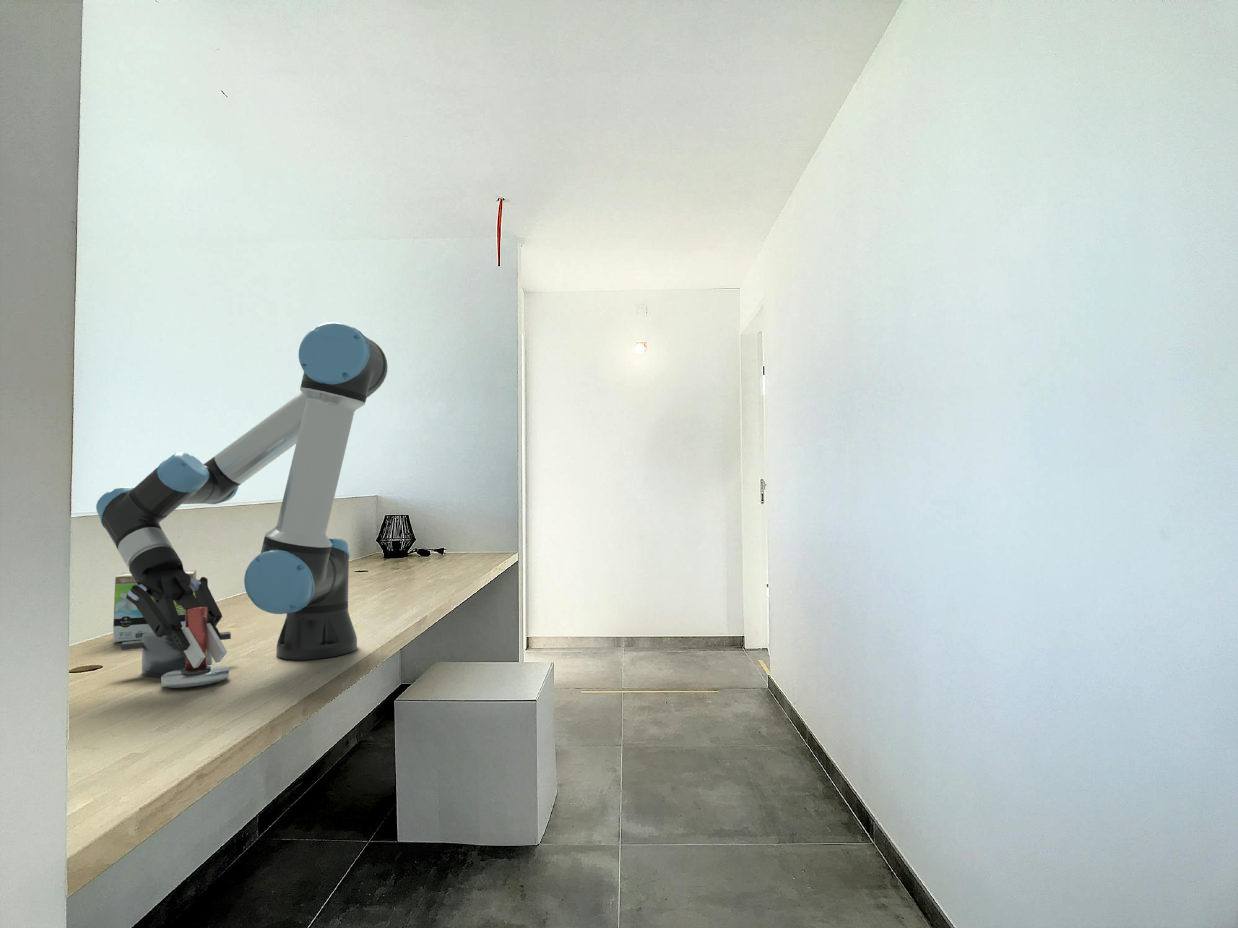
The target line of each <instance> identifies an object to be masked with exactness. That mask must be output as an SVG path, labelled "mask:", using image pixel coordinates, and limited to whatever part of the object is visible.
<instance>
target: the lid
mask: <svg viewBox="0 0 1238 928" xmlns="http://www.w3.org/2000/svg"><path fill="white" fill-rule="evenodd" d="M185 627H188V628H189V629H190V631H191V633H192V634H193V636H194V638H195V640H196V641H197V643H198V645H199V646H200V648H201V650H202V652H203V653H204V655H205V658H204V660H203V661H202V662H201V664H200V665H199V667H197V668H193V666H192V664H191V663H190V661H189V659H188V657H187V656H186V654H185V668H183V669H179V670H175V671H171V672H168V673H166V674H164V675H162V676H161V677H160V679H161V680H160V685H161V686H162V687H163V688H170V689H171V688H175V689H178V688H191V687H192V688H193V687H200V686H206V685H210V684H214V683H218V682H221V681H224V680H227V679H228V678H229V677H230V666H227V665H222V664H221V665H219V664H214V665H213V664H212V665H207V607H206V606H198V607H189V608H186V609H185Z"/></svg>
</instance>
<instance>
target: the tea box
mask: <svg viewBox="0 0 1238 928" xmlns="http://www.w3.org/2000/svg"><path fill="white" fill-rule="evenodd" d="M184 571H185V572H186V573H187V574H188V575H190V577H191V578H192V579H197V569H184ZM133 585H138V584H137V583H136V582H135V580H134V578H133V576H132V575H131V573H130V571H125V572H122V573H120V574H119V575H117V576H115V579H114V600H113V601H114V604H113V621H112V623H113V627H112V628H113V631H112V632H113V637H112V638H113V639H112V640H113V644H114V643H115V644H116V643H121V642H129V641H140V640H142V635H143V634H144V633H146V632H149V631H153V630H152V629H151V627H150V626H149V624H148V623H147V621H146V620H145V618H144V617H143V616H142V614H141V613H140V611H139V610H138V608H137V607H136V605H135V604H133V603H132V602H131V601H129V600H128V599H127V598H126V596H127V594H128V592H129V591H130V589H131V588H132V586H133ZM189 587H190V588H191V589H192V587H191V586H189ZM192 590H193V589H192ZM193 595H194V596H195V592H193ZM150 597H151V596H150ZM195 597H196V596H195ZM151 598H152V597H151ZM152 600H153V601H154V598H152ZM173 601H174V600H173ZM154 602H155V601H154ZM174 604H175V607H176V610H177V613H178V616H179V618H180V621H181V624H182V626H185V609H184V608H183V607H182V606H181V605H178V604H177V603H176V602H175V601H174Z"/></svg>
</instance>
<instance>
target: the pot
mask: <svg viewBox="0 0 1238 928" xmlns="http://www.w3.org/2000/svg"><path fill="white" fill-rule="evenodd" d="M183 628H185V626H182V628H181V629H182V630H183ZM220 634H221V636H222V638H221V641H223V640H231V637H232V633H231V631H223V632H222V631H220ZM167 637H168V636H165V635H163V637H157V636H156V635H155V633H154V632H153V631H149V632H146V633H144V634H143V635H142V640H131V641H121V642H122V643H121V646H120V647H121V651H126V650H127V651H128V650H138V649H141V675H142V676H143V677H147V678H148V677H149V678H161V676H162V675H164V674H166V673H168V672H171V671H175V670H179V669H183V668H185V652H184V651H180V650H179V649H178V648H177V646H176V644H175V642H174V641H168V640H167V639H166V638H167ZM207 665H213V657H212V656H211V654H210V652H209V650H208V649H207Z"/></svg>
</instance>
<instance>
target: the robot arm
mask: <svg viewBox="0 0 1238 928" xmlns="http://www.w3.org/2000/svg"><path fill="white" fill-rule="evenodd" d="M298 348H299V349H298V362H299V364H300V366H301V369H302V370H303V375H302V379H301V384H300V387H299V390H300V393H299V394H296V395H295V396H294V397H293V398H291V399H290V400H289V401H288V402H285V404H283V405H281V406H280V407H279V408H278V409H276V410H275V411H274V412H272V413H271V414H269V415H268V416H267V417H266V418H264V419H262V421H260V422H259V423H258V424H256V425H254V426H253V427H252V428H250V429H249V430H248V431H247V432H245V433H244V434H242V435H241V436H240V437H238V438H237V439H235V441H233V442H232V443H230V444H229V445H227V446H226V447H225V448H223V449H222V450H221V451H219V452H217V453H216V454H215V455H214V456H213V457H211V458H210V459H209V460H207V461H206V462H205V463H203V462H202V461H200V459H198V458H197V457H195V456H193V455H190V454H189V453H187V452H183V451H180V452H179V451H178V452H175V453H174V454H172V455H171V456H170V457H167V459H165V460H163V461H162V462H160V463H159V465H158V466H157V467H156V468H154V470H153V471H151V472H150V473H149V474H148V475H147V476H146V477H145V478H143V479H142V480H141V481H140V482H139V483H138V484H137V485H136V486H134V487H132V486H119V487H115V488H113V490H112V491H107V492H105V493H104V494H102V495H101V496H100V497H99V499H98V500H97V502H96V505H95V507H96V508H95V509H96V512H97V515H98V517H99V520H100V523H101V525H102V527H103V528H104V529H105V530H106V532H107V533H108V535H109V537H110V538H111V540H112V542H113V543H114V545H115V547H116V549H117V550H118V553H119V554H120V556H121V558H122V560H123V562H124V564H125V565H126V567H127V568H128V570H129V571H128V572H130V573H131V575H132V576H133V578H134V580H135V582H136V583H137V584H138V585H133V586H132V588H131V589H130V591H129V592H128V594H127V596H126V598H127V599H128V600H129V601H131V602H132V603H133V604H135V605H136V607H137V608H138V610H139V611H140V613H141V614H142V616H143V617H144V618H145V620H146V621H147V623H148V624H149V626H150V627H151V629H152V630H153V632H154V633H155V635H156V636H157V637H163V635H165V636H168V637H167V638H166V639H167V640H168V641H174V642H175V644H176V646H177V648H178V649H179V650H180V651H184V652H185V654H186V656H187V657H188V659H189V661H190V663H191V664H192V666H193V668H197V667H199V665H200V664H201V662H202V661H203V660H204V658H205V655H204V653H203V652H202V650H201V648H200V646H199V645H198V643H197V641H196V640H195V638H194V636H193V634H192V633H191V631H190V629H189V628H188V627H185V628H183V630H182V629H181V628H182V624H181V621H180V618H179V616H178V613H177V610H176V607H175V604H174V601H175V602H176V603H177V604H178V605H181V606H182V607H183V608H184V609H186V608H189V607H198V606H206V607H207V649H208V650H209V652H210V654H211V656H212V660H214V662H215V664H217V663H221V662H222V660H223V658H224V657H225V655H226V654H227V653H228V650H227V649H226V647H225V645H224V644H223V642H222V640H221V638H222V636H221V634H220V633H221V631H220V630H219V629H218V627H217V625H218V624H219V622H220V621H221V619H222V618H223V614H222V612H221V610H220V609H219V606H218V604H217V602H216V600H215V598H214V595H213V594H212V592H211V589H210V588H209V584H208V583H209V580H208V578H207V577H205V576H202V577H200V578H199V579H197V578H196V579H192V578H191V577H190V575H188V574H187V573H186V572H185V571H184V570H185V569H184V564H183V562H182V560H181V558H180V556H179V555H178V553H177V551H176V550H175V549H174V546H173V545H172V542H171V540H169V538H168V537H167V535H166V534H165V532H164V530H163V528H162V527H161V525H160V523H161V522H162V521H163V520H164V519H165V518H167V517H168V516H170V515H171V514H172V513H173V512H174V511H175V510H176V509H178V508H179V507H180V506H181V505H198V504H200V505H202V504H203V505H205V504H207V505H217V504H221V503H224V502H227V501H230V500H231V499H233V498H234V497H235V496H236V494H237V492H238V490H239V486H241V485H242V484H243V483H245V482H247V480H249V479H250V478H252V477H253V476H254V475H255V474H257V473H258V472H259V471H262V470H263V469H264V468H265V467H266V466H268V465H269V464H270V463H272V462H274V461H275V460H276V459H277V458H278V457H280V456H281V455H283V454H284V453H286V452H287V451H288V450H290V449H291V448H292V447H293V446H295V447H294V453H293V456H292V459H291V464H290V468H289V473H288V477H287V480H286V481H287V482H286V484H285V489H284V493H283V498H282V502H281V506H280V511H279V514H278V518H277V523H276V526H275V527H274V528H272V529H269V530H268V531H267V532H266V533H264V534H265V535H264V538H263V542H262V546H261V550H260V553H259V554H258V555H257V556H255V557H254V558H253V559H252V561H250V563H249V564H248V565H247V567H246V569H245V573H244V577H243V579H244V580H243V583H244V588H245V592H246V595H247V597H248V598H249V600H250V601H251V602H252V603H253V604H254V605H255V607H257V608H258V609H260V610H261V611H263V612H266V613H268V614H269V613H270V614H273V615H283V614H284V615H285V614H286V616H285V619H284V622H283V625H282V628H281V631H280V633H279V637H278V639H277V643H276V657H278V658H280V659H284V660H298V661H299V660H303V661H304V660H318V659H319V660H320V659H326V658H333V657H337V656H342V655H346V654H349V653H352V652H354V651H356V650H357V649H358V637H357V633H356V631H355V628H354V625H353V622H352V619H351V616H350V613H349V565H350V564H349V563H350V562H349V559H350V552H349V544H348V541H346V540H345V539H343V538H336V537H328V535H327V532H328V531H327V530H328V527H329V521H330V518H331V513H332V509H333V505H334V501H335V496H336V492H337V487H338V484H339V479H340V475H341V470H342V466H343V463H344V462H343V461H344V459H345V454H346V450H347V445H348V441H349V436H350V433H351V428H352V424H353V419H354V415H355V412H356V411H357V410H358V409H359V408H362V407H363V406H365V404H366V401H367V398H369V397H371V396H372V394H374V393H375V392H377V390H378V389H379V388H380V387H382V385H383V383H384V382H385V380H386V378H387V374H388V361H387V360H388V359H387V357H386V354H385V353H384V351H383V349H382V347H380V345H379V344H377V343H376V342H374V341H373V340H371V339H370V338H368V337H367V336H366V335H365V334H363V332H361V331H360V330H359V329H357V328H355V327H352V326H350V325H347V324H345V323H340V322H326V323H322V324H320V325H317V326H315V327H314V328H312V329H310V330H309V331H308V332H307V333H306V334H305V336H304V337H303V339H302V341H301V342H300V345H299V347H298ZM189 586H191V587H192V589H193V590H192V589H191V588H190V587H189ZM193 592H195V596H196V597H195V596H194V595H193ZM150 596H151V597H152V598H154V601H155V602H154V601H153V600H152V598H151V597H150ZM173 600H174V601H173Z"/></svg>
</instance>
